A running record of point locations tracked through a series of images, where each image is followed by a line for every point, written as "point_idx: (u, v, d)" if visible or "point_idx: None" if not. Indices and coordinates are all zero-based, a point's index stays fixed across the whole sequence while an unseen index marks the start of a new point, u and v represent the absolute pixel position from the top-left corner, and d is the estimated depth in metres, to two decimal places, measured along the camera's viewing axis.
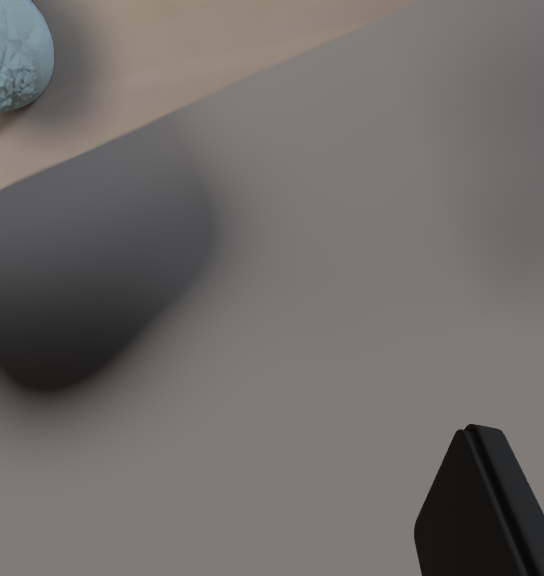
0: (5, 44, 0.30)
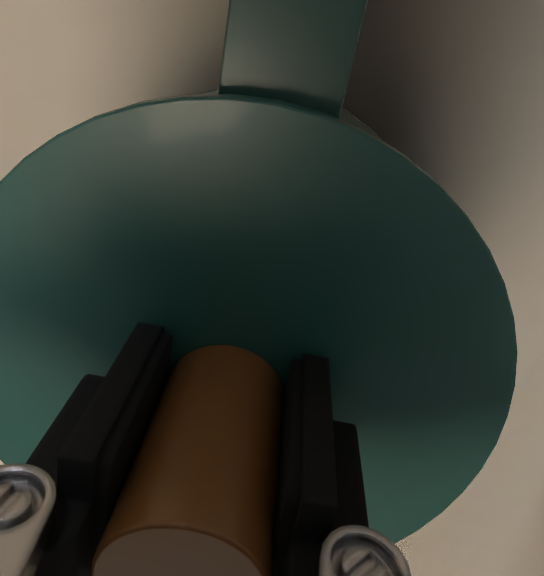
0: None
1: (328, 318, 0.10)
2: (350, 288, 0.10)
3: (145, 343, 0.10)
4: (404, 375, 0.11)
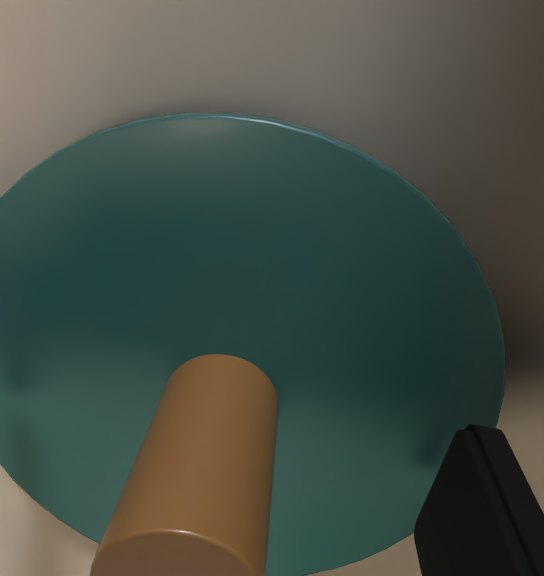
0: None
1: (321, 328, 0.11)
2: (342, 299, 0.10)
3: None
4: (396, 384, 0.11)
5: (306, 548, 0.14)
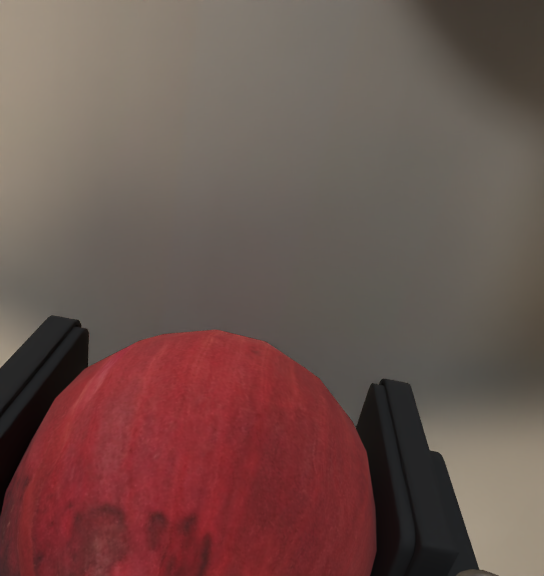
0: None
1: None
2: None
3: (52, 337, 0.09)
4: None
5: None
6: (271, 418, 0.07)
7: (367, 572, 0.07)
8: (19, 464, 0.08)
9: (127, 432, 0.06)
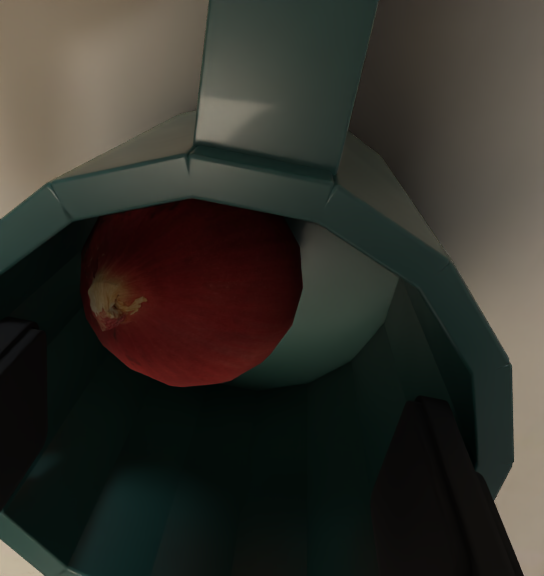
0: None
1: None
2: None
3: (4, 339, 0.09)
4: None
5: None
6: None
7: (272, 284, 0.12)
8: None
9: None
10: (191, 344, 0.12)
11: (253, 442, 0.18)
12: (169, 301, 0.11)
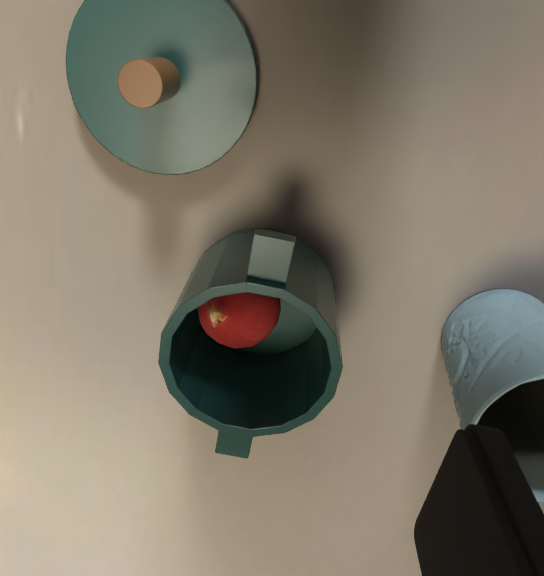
0: None
1: (192, 45, 0.32)
2: (197, 32, 0.32)
3: None
4: (219, 68, 0.32)
5: (197, 154, 0.35)
6: None
7: (268, 310, 0.34)
8: None
9: None
10: (241, 331, 0.33)
11: (261, 376, 0.40)
12: (234, 317, 0.33)
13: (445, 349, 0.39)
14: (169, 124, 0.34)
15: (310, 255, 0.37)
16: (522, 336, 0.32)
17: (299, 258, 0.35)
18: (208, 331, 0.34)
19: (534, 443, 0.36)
